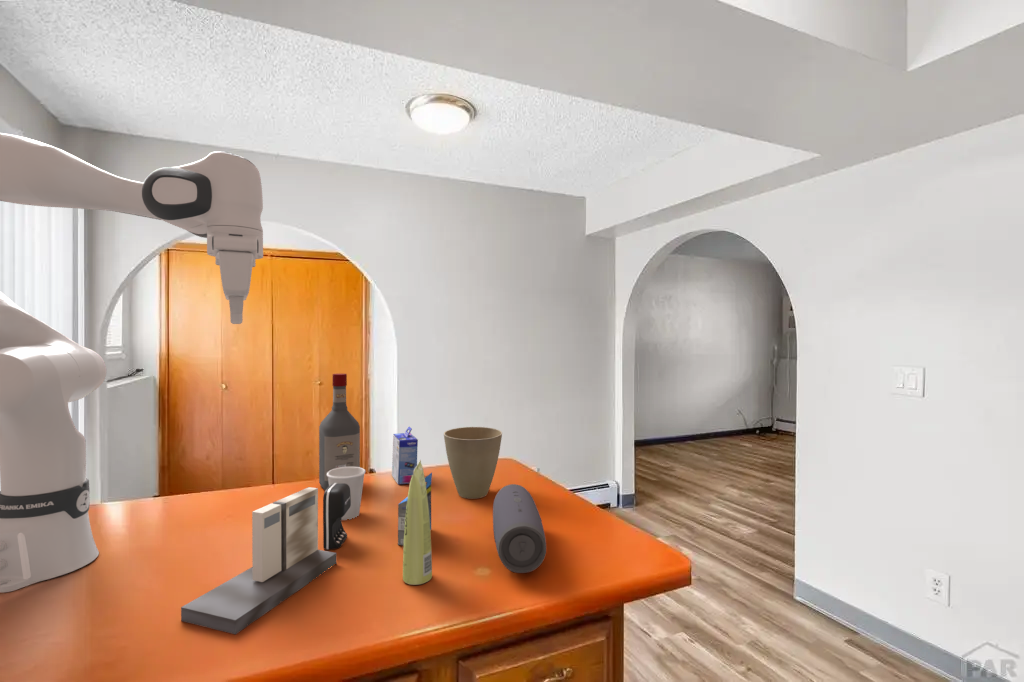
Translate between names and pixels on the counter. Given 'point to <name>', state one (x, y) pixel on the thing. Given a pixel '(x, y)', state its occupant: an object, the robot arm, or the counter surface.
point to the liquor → (338, 434)
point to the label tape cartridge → (402, 510)
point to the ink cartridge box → (404, 456)
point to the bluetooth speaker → (518, 529)
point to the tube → (417, 532)
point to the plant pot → (472, 458)
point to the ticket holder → (252, 599)
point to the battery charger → (335, 514)
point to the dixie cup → (355, 482)
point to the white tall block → (266, 542)
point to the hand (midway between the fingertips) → (236, 323)
